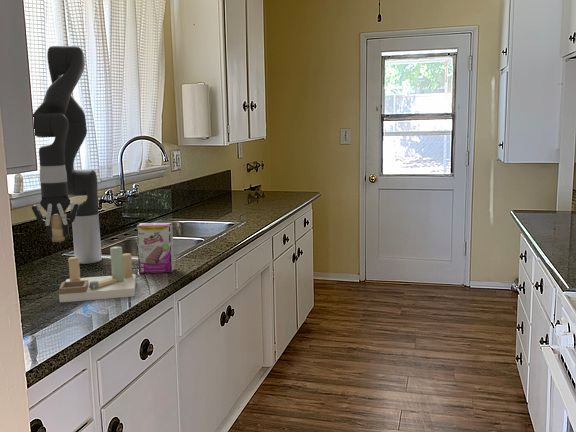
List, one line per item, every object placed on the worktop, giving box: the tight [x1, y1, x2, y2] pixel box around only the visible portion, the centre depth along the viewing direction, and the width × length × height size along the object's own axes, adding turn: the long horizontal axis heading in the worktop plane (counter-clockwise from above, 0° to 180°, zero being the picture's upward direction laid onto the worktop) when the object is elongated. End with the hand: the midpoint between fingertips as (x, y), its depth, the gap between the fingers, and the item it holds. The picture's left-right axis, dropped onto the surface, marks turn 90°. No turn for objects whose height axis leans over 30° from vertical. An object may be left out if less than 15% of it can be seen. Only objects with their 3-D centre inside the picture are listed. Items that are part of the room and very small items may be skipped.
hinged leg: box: [89, 246, 124, 289], centre depth 172 cm, size 12×3×10 cm, turn 148°
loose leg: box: [51, 214, 66, 243], centre depth 176 cm, size 4×4×8 cm
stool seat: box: [58, 253, 137, 303], centre depth 173 cm, size 16×21×9 cm
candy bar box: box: [136, 222, 175, 274], centre depth 194 cm, size 11×5×16 cm, turn 92°
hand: (58, 236), depth 176 cm, fingers closed on loose leg, 3 cm apart
